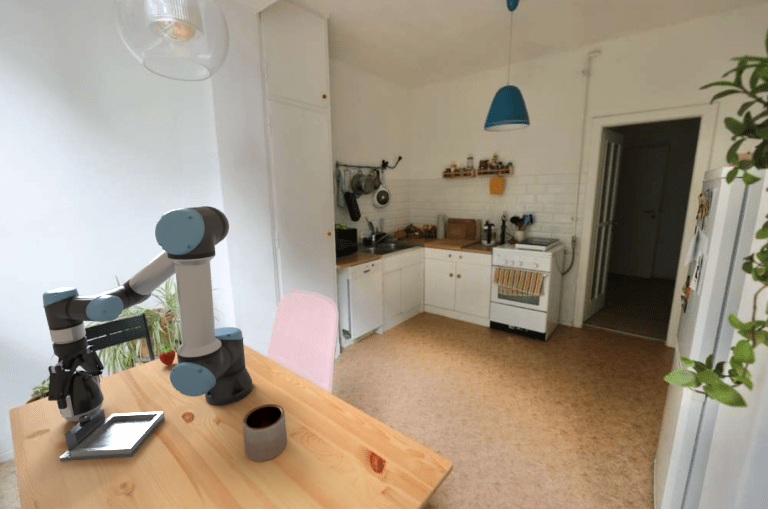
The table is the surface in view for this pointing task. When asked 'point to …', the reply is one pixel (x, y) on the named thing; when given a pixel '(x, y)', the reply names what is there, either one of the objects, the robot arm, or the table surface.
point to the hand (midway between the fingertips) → (83, 404)
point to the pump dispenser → (83, 395)
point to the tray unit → (109, 434)
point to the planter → (264, 432)
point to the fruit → (167, 356)
